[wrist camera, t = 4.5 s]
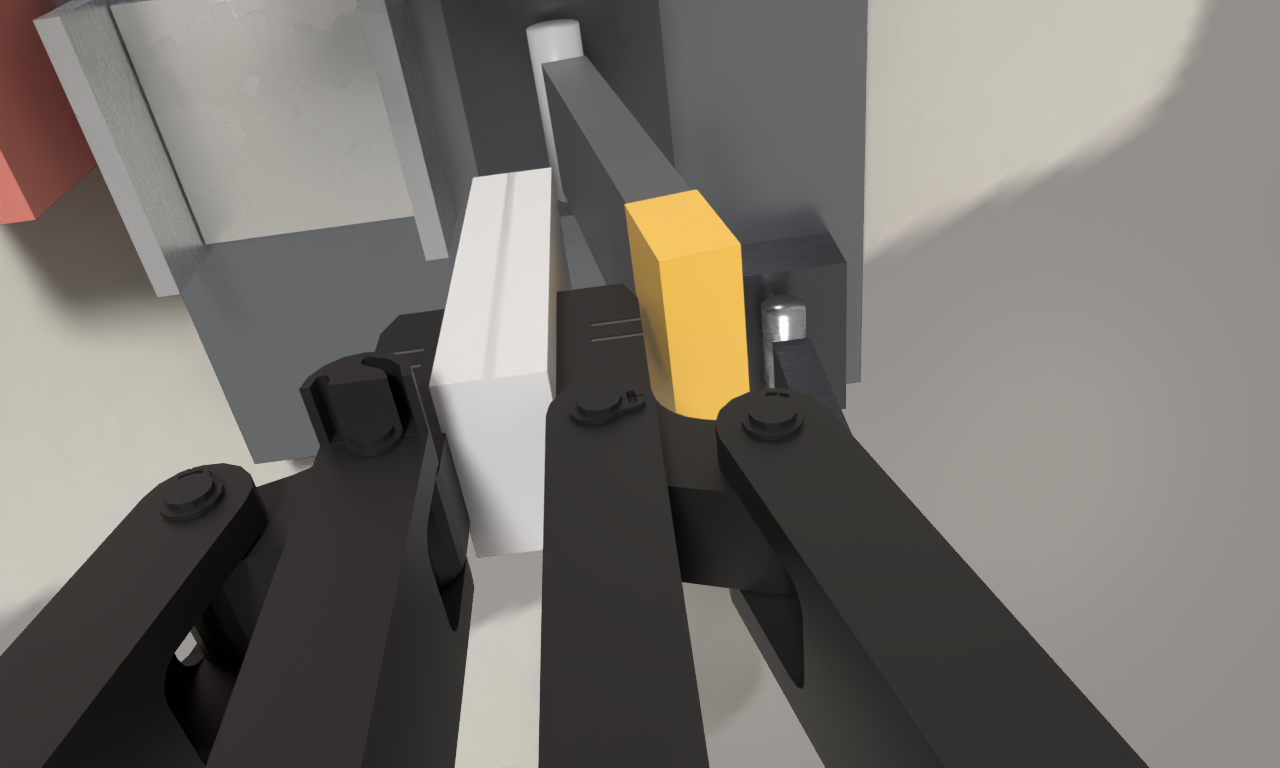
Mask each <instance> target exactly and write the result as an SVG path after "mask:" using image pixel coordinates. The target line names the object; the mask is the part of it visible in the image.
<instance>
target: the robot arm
mask: <svg viewBox="0 0 1280 768" xmlns="http://www.w3.org/2000/svg"><path fill="white" fill-rule="evenodd" d="M299 391H300V394H301V396H302V399H303V402H304V405H305V407H306V410H307V413H308V415H309V418H310V421H311V423H312V426H313V429H314V431H315V434H316V437H317V439H318V442H319V445H320V447H319V450H318V453H317V456H316V458H315V461H314V464H313V466H312V467H311V468H309V469H307V470H304V471H302V472H299V473H297V474H294V475H292V476H289V477H286V478H283V479H280V480H277V481H274V482H271V483H268V484H265V485H262V486H259V487H256V486H255V484H254V481H253V479H252V477H251V475H250V474H249V473H248V472H247V471H246V470H244V469H243V468H242V467H241V466H236V465H230V464H225V463H221V464H212V465H203V466H199V467H195V468H192V469H188V470H185V471H183V472H180V473H178V474H176V475H175V476H173V477H171V478H169V479H168V480H166V481H164V482H162V483H160V484H159V485H158V486H156V487H155V488H154V489H153V490H152V491H150V492H149V493H148V494H147V495H146V496H145V497H143V498H142V500H141V501H140V502H139V503H138V504H137V505H136V506H135V507H134V508H133V510H132V511H131V512H130V513H129V514H128V515H127V516H126V517H125V518H124V520H123V521H122V522H121V523H120V524H119V525H118V526H117V527H116V528H115V530H114V531H113V532H112V533H111V534H110V535H109V536H108V537H107V538H106V540H105V541H104V542H103V543H102V544H101V545H100V546H99V547H98V548H97V550H96V551H95V552H94V553H93V554H92V555H91V556H90V557H89V558H88V559H87V561H86V562H85V563H84V564H83V565H82V566H81V567H80V568H79V569H78V571H77V572H76V573H75V574H74V575H73V576H72V577H71V578H70V579H69V581H68V582H67V583H66V584H65V585H64V586H63V587H62V588H61V589H60V591H59V592H58V593H57V594H56V595H55V596H54V597H53V598H52V599H51V601H50V602H49V603H48V604H47V605H46V606H45V607H44V608H43V609H42V611H41V612H40V613H39V614H38V615H37V616H36V617H35V619H33V621H32V622H31V623H30V624H29V625H28V626H27V628H25V629H24V631H23V632H22V633H21V634H20V635H19V636H18V637H17V638H16V640H15V641H14V642H13V643H12V644H11V645H10V646H9V647H8V648H7V649H6V651H5V652H4V653H3V654H2V655H1V656H0V768H454V767H455V758H456V749H457V740H458V730H459V721H460V712H461V703H462V694H463V685H464V676H465V666H466V657H467V648H468V639H469V630H470V621H471V611H472V602H473V593H474V584H473V578H472V573H471V570H470V566H469V563H468V559H467V556H466V553H467V545H468V537H469V531H470V534H471V538H472V542H473V545H474V549H475V552H476V556H477V558H481V557H489V556H497V555H504V554H512V553H519V552H530V551H537V550H543V572H542V573H543V574H542V576H543V577H542V621H541V670H540V719H539V768H709V762H708V755H707V749H706V742H705V735H704V728H703V722H702V715H701V708H700V702H699V695H698V688H697V681H696V675H695V668H694V661H693V655H692V648H691V641H690V634H689V628H688V621H687V614H686V608H685V601H684V594H683V587H682V582H686V583H694V584H701V585H709V586H717V587H725V588H729V591H730V595H731V598H732V602H733V603H734V605H735V607H736V609H737V611H738V612H739V614H740V616H741V618H742V620H743V621H744V623H745V625H746V627H747V628H748V630H749V632H750V634H751V636H752V637H753V639H754V641H755V643H756V645H757V646H758V648H759V650H760V652H761V653H762V655H763V657H764V659H765V661H766V662H767V664H768V666H769V668H770V670H771V671H772V673H773V675H774V677H775V678H776V680H777V682H778V684H779V685H780V687H781V689H782V691H783V693H784V694H785V696H786V698H787V700H788V702H789V703H790V705H791V707H792V709H793V711H794V712H795V714H796V716H797V718H798V719H799V721H800V723H801V725H802V726H803V728H804V730H805V732H806V734H807V736H808V737H809V739H810V741H811V743H812V744H813V746H814V748H815V750H816V752H817V753H818V755H819V757H820V759H821V760H822V762H823V764H824V766H825V768H1149V767H1148V766H1147V764H1146V763H1145V762H1144V761H1143V760H1142V759H1141V758H1140V757H1139V756H1138V754H1137V753H1136V752H1135V751H1134V750H1133V749H1132V748H1131V747H1130V746H1129V744H1128V743H1127V742H1126V741H1125V740H1124V739H1123V738H1122V737H1121V735H1120V734H1119V733H1118V732H1117V731H1116V730H1115V729H1114V728H1113V727H1112V725H1111V724H1110V723H1109V722H1108V721H1107V720H1106V719H1105V717H1104V716H1103V715H1102V714H1101V713H1100V712H1099V711H1098V710H1097V709H1096V707H1095V706H1094V705H1093V704H1092V703H1091V702H1090V701H1089V700H1088V698H1087V697H1086V696H1085V695H1084V694H1083V693H1082V692H1081V691H1080V690H1079V688H1077V686H1076V685H1075V684H1074V683H1073V682H1072V681H1071V679H1070V678H1069V677H1068V676H1067V675H1066V674H1065V673H1064V672H1063V671H1062V669H1061V668H1060V667H1059V666H1058V665H1057V664H1056V663H1055V662H1054V660H1053V659H1052V658H1051V657H1050V656H1049V655H1048V654H1047V653H1046V652H1045V650H1044V649H1043V648H1042V647H1041V646H1040V645H1039V644H1038V643H1037V642H1036V640H1035V639H1034V638H1033V637H1032V636H1031V635H1030V634H1029V632H1028V631H1027V630H1026V629H1025V628H1024V627H1023V626H1022V625H1021V624H1020V622H1019V621H1018V620H1017V619H1016V618H1015V617H1014V616H1013V615H1012V613H1011V612H1010V611H1009V610H1008V609H1007V608H1006V607H1005V606H1004V604H1003V603H1002V602H1001V601H1000V600H999V599H998V598H997V597H996V596H995V594H994V593H993V592H992V591H991V590H990V589H989V588H988V587H987V585H986V584H985V583H984V582H983V581H982V580H981V579H980V578H979V577H978V576H977V574H976V573H975V572H974V571H973V570H972V569H971V568H970V566H969V565H968V564H967V563H966V562H965V561H964V560H963V559H962V558H961V556H960V555H959V554H958V553H957V552H956V551H955V550H954V549H953V547H952V546H951V545H950V544H949V543H948V542H947V541H946V540H945V538H944V537H943V536H942V535H941V534H940V533H939V532H938V531H937V530H936V528H935V527H933V525H932V524H931V523H930V522H929V521H928V519H927V518H926V517H925V516H924V515H923V514H922V513H921V512H920V510H919V509H918V508H917V507H916V506H915V505H914V504H913V503H912V502H911V500H910V499H909V498H908V497H907V496H906V495H905V494H904V493H903V491H901V489H900V488H899V487H898V486H897V485H896V484H895V483H894V481H893V480H892V479H891V478H890V477H889V476H888V475H887V474H886V473H885V471H884V470H883V469H882V468H881V467H880V466H879V465H878V464H877V462H876V461H875V460H874V459H873V458H872V457H871V456H870V455H869V453H868V452H867V451H866V450H865V449H864V448H863V447H862V446H861V445H860V443H859V442H858V441H857V440H856V439H855V438H854V437H853V436H852V434H851V433H850V432H849V431H848V430H847V429H846V428H845V427H844V425H843V424H842V423H841V422H840V421H839V420H838V419H837V418H836V417H835V415H834V414H833V413H832V412H831V411H830V410H829V409H828V408H827V406H826V405H824V404H823V403H821V402H820V401H819V400H817V399H816V398H815V397H813V396H812V395H809V394H805V393H802V392H799V391H796V390H793V389H777V388H768V389H762V390H756V391H750V392H747V393H745V394H743V395H740V396H738V397H736V398H733V399H731V400H730V401H729V402H728V403H727V404H726V405H725V406H724V407H723V408H721V409H720V410H719V413H718V416H717V419H716V420H708V419H699V418H692V417H686V416H683V415H680V414H677V413H674V412H672V411H670V410H669V409H667V408H665V407H664V406H662V405H661V404H660V403H659V402H658V401H657V400H656V399H655V397H654V395H653V392H652V390H651V384H650V377H649V370H648V364H647V357H646V350H645V343H644V336H643V329H642V322H641V315H640V308H639V301H638V297H637V296H636V295H634V294H633V293H632V292H631V291H630V290H629V289H628V288H627V287H626V286H624V285H623V284H622V283H620V284H612V285H605V286H597V287H590V288H582V289H575V290H572V286H571V280H570V274H569V268H568V262H567V256H566V250H565V245H564V239H563V233H562V227H561V221H560V215H559V209H558V203H557V197H556V192H555V186H554V180H553V174H552V168H551V167H550V168H543V169H535V170H528V171H520V172H512V173H504V174H497V175H489V176H481V177H474V178H473V180H472V185H471V190H470V194H469V199H468V204H467V208H466V213H465V218H464V223H463V227H462V232H461V237H460V241H459V246H458V251H457V256H456V260H455V265H454V270H453V275H452V279H451V284H450V289H449V293H448V298H447V303H446V308H445V309H440V310H433V311H425V312H417V313H410V314H402V315H399V316H398V317H397V318H396V319H395V320H394V321H393V322H392V323H391V324H390V325H389V326H388V327H387V328H386V329H385V330H384V331H383V332H382V333H381V334H380V336H379V340H378V343H377V346H376V349H375V352H364V353H360V354H355V355H351V356H346V357H343V358H341V359H338V360H336V361H334V362H331V363H329V364H327V365H324V366H323V367H321V368H320V369H318V370H317V371H316V372H314V373H313V374H311V375H310V376H309V377H308V378H307V379H306V380H305V382H304V383H303V384H302V386H301V387H300V388H299ZM190 631H191V633H192V635H193V637H194V639H195V641H196V642H197V645H196V646H195V647H194V649H193V650H192V652H191V653H190V654H189V656H187V657H186V658H185V659H184V660H183V661H182V662H180V661H179V660H178V659H177V657H176V655H175V651H176V650H177V649H178V647H179V646H180V644H181V643H182V642H183V640H184V639H185V637H186V636H187V635H188V633H189V632H190Z"/></svg>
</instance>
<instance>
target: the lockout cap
mask: <svg viewBox="0 0 1280 768" xmlns="http://www.w3.org/2000/svg"><path fill="white" fill-rule="evenodd" d="M54 9H56V5H55V3H54V1H53V0H0V225H1V224H9V223H16V222H23V221H31V220H36V219H37V218H38V217H39V216H41V215H42V214H43V213H44V212H45V211H46V210H47V209H48V208H50V207H51V206H52V205H53V204H54V203H55V202H56V201H57V200H59V199H60V198H61V197H62V196H63V195H64V194H65V193H66V192H68V191H69V190H70V189H71V188H72V187H73V186H74V185H75V184H77V183H78V182H79V181H80V180H81V179H82V178H83V177H84V176H86V175H87V174H88V173H89V172H90V171H91V170H92V169H93V168H95V167H96V166H97V165H98V164H97V162H96V160H95V158H94V155H93V153H92V151H91V149H90V146H89V144H88V142H87V140H86V138H85V135H84V133H83V131H82V129H81V127H80V124H79V122H78V120H77V118H76V115H75V113H74V111H73V109H72V107H71V104H70V102H69V100H68V98H67V96H66V93H65V91H64V89H63V87H62V84H61V82H60V80H59V78H58V76H57V73H56V71H55V69H54V67H53V64H52V62H51V60H50V58H49V56H48V53H47V51H46V49H45V47H44V45H43V42H42V40H41V38H40V36H39V33H38V31H37V29H36V27H35V25H34V22H33V20H34V19H36V18H38V17H40V16H42V15H44V14H46V13H48V12H50V11H52V10H54Z"/></svg>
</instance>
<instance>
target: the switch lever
mask: <svg viewBox="0 0 1280 768" xmlns="http://www.w3.org/2000/svg"><path fill="white" fill-rule="evenodd" d="M526 33H527V39H528V44H529V50H530V56H531V62H532V67H533V73H534V79H535V85H536V90H537V96H538V102H539V107H540V113H541V119H542V125H543V130H544V136H545V142H546V148H547V153H548V159H549V165H550V167H551V168H552V174H553V180H554V186H555V192H556V197H557V200H559V201H562V202H568V204H569V206H570V208H571V210H572V213H573V215H574V217H575V219H576V221H577V223H578V225H579V227H580V230H581V232H582V234H583V236H584V238H585V240H586V242H587V244H588V247H589V249H590V251H591V253H592V255H593V257H594V259H595V261H596V263H597V266H598V268H599V270H600V272H601V274H602V276H603V278H604V280H605V283H606V285H612V284H620V283H622V284H623V285H624V286H626V287H627V288H628V289H629V290H630V291H631V292H632V293H633V294H634V295H636V296H637V297H638V301H639V308H640V315H641V322H642V329H643V336H644V343H645V350H646V357H647V364H648V370H649V377H650V384H651V389H652V391H653V393H654V396H655V398H656V400H657V401H658V402H659V403H660V404H661V405H662V406H664V407H665V408H667V409H669V410H670V411H672V412H674V413H677V414H680V415H683V416H686V417H692V418H699V419H708V420H716V419H717V416H718V413H719V410H720V409H721V408H723V407H724V406H725V405H726V404H727V403H728V402H729V401H730V400H731V399H733V398H736V397H738V396H740V395H743V394H745V393H747V392H750V390H749V374H748V357H747V341H746V324H745V307H744V291H743V274H742V258H741V244H740V242H739V241H738V240H737V239H736V237H735V236H734V235H733V234H732V232H731V231H730V230H729V229H728V227H727V226H726V225H725V224H724V222H723V221H722V220H721V219H720V217H719V216H718V215H717V214H716V212H715V211H714V210H713V209H712V207H711V206H710V205H709V204H708V202H707V201H706V200H705V199H704V197H703V196H702V195H701V194H700V192H699V191H698V190H697V189H696V190H691V189H690V188H689V186H688V185H687V184H686V182H685V181H684V180H683V179H682V177H681V176H680V175H679V174H678V172H677V171H676V170H675V168H674V167H673V166H672V165H671V163H670V162H669V161H668V160H667V158H666V157H665V156H664V154H663V153H662V152H661V151H660V149H659V148H658V147H657V146H656V144H655V143H654V142H653V141H652V139H651V138H650V137H649V135H648V134H647V133H646V132H645V130H644V129H643V128H642V127H641V125H640V124H639V123H638V121H637V120H636V119H635V118H634V116H633V115H632V114H631V113H630V111H629V110H628V109H627V107H626V106H625V105H624V104H623V102H622V101H621V100H620V99H619V97H618V96H617V95H616V94H615V92H614V91H613V90H612V88H611V87H610V86H609V85H608V83H607V82H606V81H605V80H604V78H603V77H602V76H601V74H600V73H599V72H598V71H597V69H596V68H595V67H594V66H593V64H592V63H591V62H590V60H589V59H588V58H587V57H586V55H585V56H584V55H583V48H582V41H581V34H580V27H579V22H578V21H576V20H572V19H558V20H550V21H544V22H540V23H537V24H534V25H531V26H529V27H528V28H527V29H526Z"/></svg>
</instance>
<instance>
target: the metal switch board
mask: <svg viewBox="0 0 1280 768" xmlns="http://www.w3.org/2000/svg"><path fill="white" fill-rule="evenodd" d="M53 1H54V3H55V5H56V9H54V10H52V11H50V12H48V13H46V14H44V15H42V16H40V17H38V18H36V19H34V20H33V22H34V25H35V27H36V29H37V31H38V33H39V36H40V38H41V40H42V42H43V45H44V47H45V49H46V51H47V53H48V56H49V58H50V60H51V62H52V64H53V67H54V69H55V71H56V73H57V76H58V78H59V80H60V82H61V84H62V87H63V89H64V91H65V93H66V96H67V98H68V100H69V102H70V104H71V107H72V109H73V111H74V113H75V115H76V118H77V120H78V122H79V124H80V127H81V129H82V131H83V133H84V135H85V138H86V140H87V142H88V144H89V146H90V149H91V151H92V153H93V155H94V158H95V160H96V162H97V164H98V166H99V169H100V171H101V173H102V175H103V178H104V180H105V182H106V184H107V186H108V189H109V191H110V193H111V195H112V197H113V200H114V202H115V204H116V206H117V209H118V211H119V213H120V215H121V217H122V220H123V222H124V224H125V226H126V229H127V231H128V233H129V235H130V237H131V240H132V242H133V244H134V246H135V248H136V251H137V253H138V255H139V257H140V260H141V262H142V264H143V266H144V268H145V271H146V273H147V275H148V277H149V279H150V282H151V284H152V286H153V288H154V291H155V293H156V295H157V297H164V296H171V295H179V294H181V295H182V297H183V300H184V302H185V304H186V307H187V309H188V311H189V314H190V316H191V318H192V320H193V323H194V325H195V327H196V330H197V332H198V334H199V337H200V339H201V341H202V343H203V346H204V348H205V350H206V353H207V355H208V357H209V360H210V362H211V364H212V366H213V369H214V371H215V373H216V376H217V378H218V380H219V383H220V385H221V387H222V390H223V392H224V394H225V396H226V399H227V401H228V403H229V406H230V408H231V410H232V413H233V415H234V417H235V419H236V422H237V424H238V426H239V429H240V431H241V433H242V436H243V438H244V440H245V442H246V445H247V447H248V449H249V452H250V454H251V456H252V459H253V461H254V463H255V464H259V463H267V462H274V461H281V460H289V459H296V458H304V457H311V456H317V453H318V450H319V447H320V445H319V442H318V439H317V437H316V434H315V431H314V429H313V426H312V423H311V421H310V418H309V415H308V413H307V410H306V407H305V405H304V402H303V399H302V396H301V394H300V391H299V388H300V387H301V386H302V384H303V383H304V382H305V380H306V379H307V378H308V377H309V376H310V375H311V374H313V373H314V372H316V371H317V370H318V369H320V368H321V367H323V366H324V365H327V364H329V363H331V362H334V361H336V360H338V359H341V358H343V357H346V356H351V355H355V354H360V353H364V352H375V349H376V346H377V343H378V340H379V336H380V334H381V333H382V332H383V331H384V330H385V329H386V328H387V327H388V326H389V325H390V324H391V323H392V322H393V321H394V320H395V319H396V318H397V317H398V316H399V315H402V314H410V313H417V312H425V311H433V310H440V309H445V308H446V303H447V298H448V293H449V289H450V284H451V279H452V275H453V270H454V265H455V260H456V256H457V251H458V246H459V241H460V237H461V232H462V227H463V223H464V218H465V213H466V208H467V204H468V199H469V194H470V190H471V185H472V180H473V178H474V177H481V176H489V175H497V174H504V173H512V172H520V171H528V170H535V169H543V168H550V165H549V159H548V153H547V148H546V142H545V136H544V130H543V125H542V119H541V113H540V107H539V102H538V96H537V90H536V85H535V79H534V73H533V67H532V62H531V56H530V50H529V44H528V39H527V33H526V29H527V28H528V27H529V26H531V25H534V24H537V23H540V22H544V21H550V20H558V19H572V20H576V21H578V22H579V27H580V34H581V41H582V48H583V55H584V56H585V55H586V57H587V58H588V59H589V60H590V62H591V63H592V64H593V66H594V67H595V68H596V69H597V71H598V72H599V73H600V74H601V76H602V77H603V78H604V80H605V81H606V82H607V83H608V85H609V86H610V87H611V88H612V90H613V91H614V92H615V94H616V95H617V96H618V97H619V99H620V100H621V101H622V102H623V104H624V105H625V106H626V107H627V109H628V110H629V111H630V113H631V114H632V115H633V116H634V118H635V119H636V120H637V121H638V123H639V124H640V125H641V127H642V128H643V129H644V130H645V132H646V133H647V134H648V135H649V137H650V138H651V139H652V141H653V142H654V143H655V144H656V146H657V147H658V148H659V149H660V151H661V152H662V153H663V154H664V156H665V157H666V158H667V160H668V161H669V162H670V163H671V165H672V166H673V167H674V168H675V170H676V171H677V172H678V174H679V175H680V176H681V177H682V179H683V180H684V181H685V182H686V184H687V185H688V186H689V188H690V189H691V190H696V189H697V190H698V191H699V192H700V194H701V195H702V196H703V197H704V199H705V200H706V201H707V202H708V204H709V205H710V206H711V207H712V209H713V210H714V211H715V212H716V214H717V215H718V216H719V217H720V219H721V220H722V221H723V222H724V224H725V225H726V226H727V227H728V229H729V230H730V231H731V232H732V234H733V235H734V236H735V237H736V239H737V240H738V241H739V242H740V244H741V258H742V274H743V291H744V307H745V324H746V341H747V357H748V374H749V390H750V391H756V390H762V389H768V388H777V389H793V390H796V391H799V392H802V393H805V394H809V395H812V396H813V397H815V398H816V399H817V400H819V401H820V402H821V403H823V404H824V405H826V406H827V408H828V409H829V410H830V411H831V412H832V413H833V414H834V415H835V417H836V418H837V419H838V420H839V421H840V422H841V423H842V424H843V425H844V427H845V428H846V429H847V430H848V431H849V432H850V433H851V431H850V429H849V427H848V424H847V422H846V420H845V417H844V415H843V413H842V410H841V409H846V384H848V383H856V382H861V381H860V380H861V330H862V329H861V328H862V275H863V274H862V273H863V272H862V271H863V223H864V169H865V115H866V61H867V7H868V0H53ZM557 203H558V209H559V215H560V221H561V227H562V233H563V239H564V245H565V250H566V256H567V262H568V268H569V274H570V280H571V286H572V290H575V289H582V288H590V287H597V286H605V285H606V283H605V280H604V278H603V276H602V274H601V272H600V270H599V268H598V266H597V263H596V261H595V259H594V257H593V255H592V253H591V251H590V249H589V247H588V244H587V242H586V240H585V238H584V236H583V234H582V232H581V230H580V227H579V225H578V223H577V221H576V219H575V217H574V215H573V213H572V210H571V208H570V206H569V204H568V202H562V201H559V200H557ZM651 390H652V389H651ZM652 392H653V391H652ZM653 395H654V393H653ZM654 397H655V396H654ZM655 399H656V398H655Z"/></svg>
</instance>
